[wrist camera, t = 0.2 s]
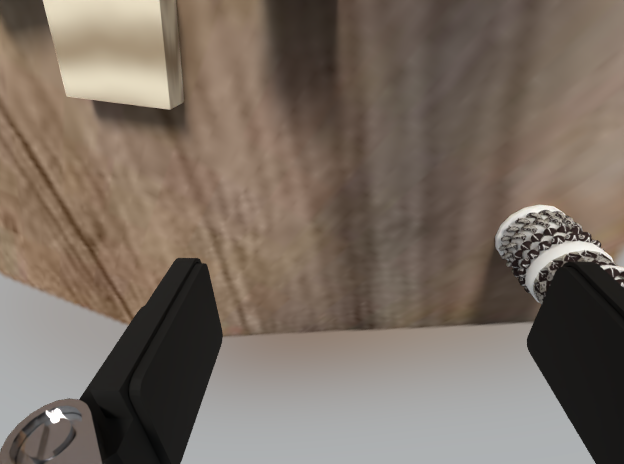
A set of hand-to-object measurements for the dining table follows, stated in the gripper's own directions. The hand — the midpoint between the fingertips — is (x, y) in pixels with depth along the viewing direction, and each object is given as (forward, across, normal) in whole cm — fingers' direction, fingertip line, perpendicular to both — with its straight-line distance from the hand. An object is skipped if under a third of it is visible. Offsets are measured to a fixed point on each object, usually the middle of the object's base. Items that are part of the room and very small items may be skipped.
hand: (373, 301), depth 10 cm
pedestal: (+31, +21, -5) cm, 38 cm away
